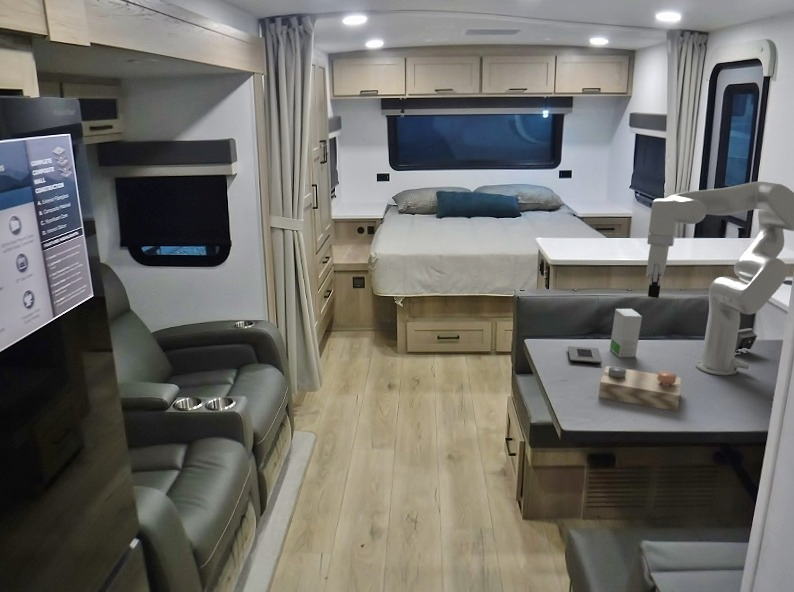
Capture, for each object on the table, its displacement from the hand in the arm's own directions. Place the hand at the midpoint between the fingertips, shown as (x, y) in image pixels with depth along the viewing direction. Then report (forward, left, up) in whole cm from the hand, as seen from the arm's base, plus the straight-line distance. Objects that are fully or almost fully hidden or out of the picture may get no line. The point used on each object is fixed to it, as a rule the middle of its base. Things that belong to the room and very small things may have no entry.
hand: (653, 296), depth 202 cm
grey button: (+7, +16, -26) cm, 32 cm away
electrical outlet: (+20, -8, -28) cm, 35 cm away
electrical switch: (-30, -38, -27) cm, 56 cm away
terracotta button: (-7, +16, -26) cm, 31 cm away
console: (0, +16, -27) cm, 31 cm away
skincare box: (+8, -19, -27) cm, 34 cm away
